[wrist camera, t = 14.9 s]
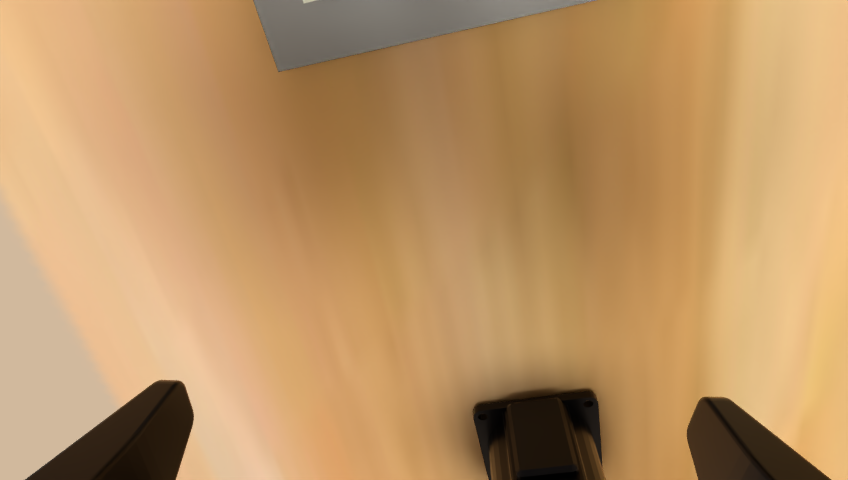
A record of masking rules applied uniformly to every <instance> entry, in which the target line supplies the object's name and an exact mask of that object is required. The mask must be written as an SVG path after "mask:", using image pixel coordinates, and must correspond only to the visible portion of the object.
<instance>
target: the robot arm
mask: <svg viewBox="0 0 848 480" xmlns="http://www.w3.org/2000/svg"><path fill="white" fill-rule="evenodd" d="M473 418H474V422H475V426H476V430H477V434H478V438H479V442H480V446H481V450H482V454H483V458H484V462H485V466H486V471H487V475H488V479H489V480H606V479H605V476H604V472H603V469H602V454H601V439H600V423H599V408H598V401H597V398H596V395H595V394H594V393H593V392H590V391H585V392H577V393H569V394H561V395H553V396H545V397H538V398H530V399H522V400H514V401H506V402H498V403H490V404H482V405H478V406H476V407H475V408H474V409H473ZM193 420H194V414H193V409H192V406H191V403H190V400H189V397H188V394H187V391H186V387H185V385H184V384H183V383H182V382H181V381H177V380H159V381H157V382H155V383H153V384H152V385H150V386H149V387H148V388H146V389H145V390H144V391H142V392H141V393H140V394H138V395H137V396H136V397H134V398H133V399H132V400H130V401H129V402H128V403H126V404H125V405H124V406H122V407H121V408H120V409H118V410H117V411H116V412H114V413H113V414H112V415H110V416H109V417H108V418H106V419H105V420H104V421H102V422H101V423H100V424H98V425H97V426H96V427H94V428H93V429H92V430H90V431H89V432H88V433H86V434H85V435H84V436H82V437H81V438H80V439H78V440H77V441H76V442H74V443H73V444H72V445H71V446H69V447H68V448H67V449H65V450H64V451H62V452H61V453H60V454H59V455H57V456H56V457H55V458H54V459H52V460H51V461H49V462H48V463H47V464H45V465H44V466H43V467H41V468H40V469H39V470H37V471H36V472H35V473H33V474H32V475H31V476H30V477H28V478H27V479H25V480H176V477H177V474H178V471H179V468H180V464H181V461H182V458H183V455H184V451H185V448H186V445H187V442H188V439H189V435H190V432H191V429H192V425H193ZM687 440H688V444H689V448H690V451H691V455H692V458H693V462H694V465H695V469H696V473H697V476H698V480H831V479H830V478H829V477H827V476H826V475H825V474H823V473H822V472H821V471H820V470H818V469H817V468H816V467H815V466H813V465H812V464H811V463H810V462H808V461H807V460H806V459H805V458H803V457H802V456H801V455H800V454H798V453H797V452H796V451H794V450H793V449H792V448H791V447H789V446H788V445H787V444H786V443H784V442H783V441H782V440H781V439H779V438H778V437H777V436H776V435H774V434H773V433H772V432H771V431H769V430H768V429H767V428H765V427H764V426H763V425H762V424H760V423H759V422H758V421H757V420H755V419H754V418H753V417H752V416H750V415H749V414H748V413H747V412H745V411H744V410H743V409H742V408H740V407H739V406H738V405H736V404H735V403H734V402H733V401H731V400H730V399H728V398H725V397H703V398H701V399H700V400H699V402H698V404H697V406H696V408H695V411H694V413H693V416H692V418H691V420H690V423H689V425H688V428H687Z"/></svg>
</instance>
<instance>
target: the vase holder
mask: <svg viewBox="0 0 848 480" xmlns="http://www.w3.org/2000/svg"><path fill="white" fill-rule="evenodd" d="M253 1H254V4H255V7H256V10H257V12H258V15H259V18H260V21H261V24H262V27H263V29H264V32H265V35H266V38H267V41H268V44H269V46H270V49H271V52H272V55H273V58H274V61H275V63H276V66H277V69H278V72H280V71H285V70H289V69H294V68H298V67H302V66H307V65H311V64H316V63H320V62H325V61H329V60H333V59H338V58H342V57H347V56H351V55H356V54H360V53H365V52H369V51H373V50H378V49H382V48H387V47H391V46H396V45H400V44H404V43H409V42H413V41H418V40H422V39H427V38H431V37H435V36H440V35H444V34H449V33H453V32H458V31H462V30H467V29H471V28H475V27H480V26H484V25H489V24H493V23H498V22H502V21H506V20H511V19H515V18H520V17H524V16H529V15H533V14H537V13H542V12H546V11H551V10H555V9H560V8H564V7H568V6H573V5H577V4H582V3H586V2H591V1H595V0H253Z"/></svg>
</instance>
